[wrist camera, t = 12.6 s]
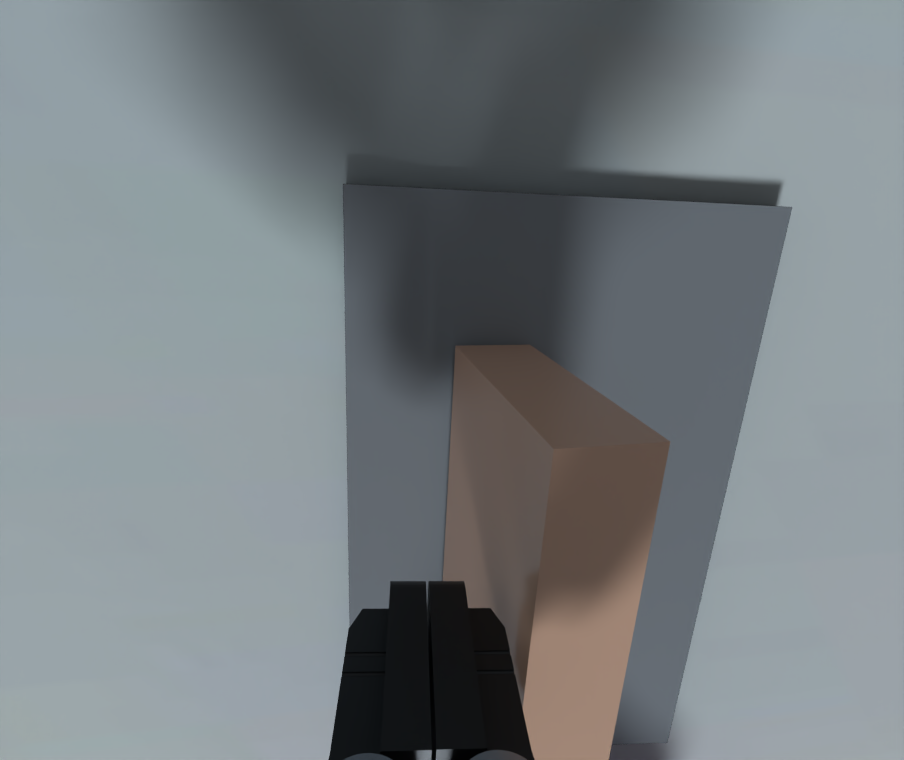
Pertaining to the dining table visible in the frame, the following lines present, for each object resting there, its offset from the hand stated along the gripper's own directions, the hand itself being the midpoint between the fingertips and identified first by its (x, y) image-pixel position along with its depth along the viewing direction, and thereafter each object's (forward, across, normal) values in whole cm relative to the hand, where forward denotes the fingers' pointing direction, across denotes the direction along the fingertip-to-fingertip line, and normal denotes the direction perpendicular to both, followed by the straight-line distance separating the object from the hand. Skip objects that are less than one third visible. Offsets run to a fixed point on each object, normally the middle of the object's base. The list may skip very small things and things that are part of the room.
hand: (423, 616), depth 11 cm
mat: (+5, -4, +1) cm, 6 cm away
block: (+4, -2, 0) cm, 5 cm away
